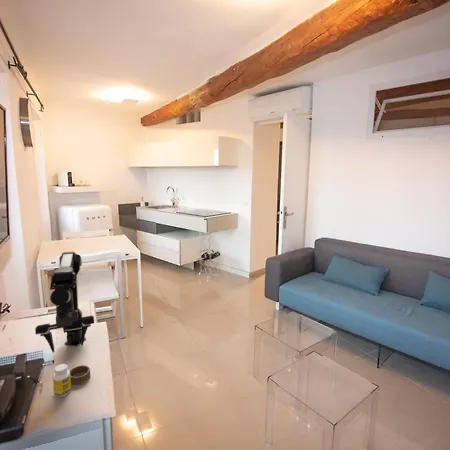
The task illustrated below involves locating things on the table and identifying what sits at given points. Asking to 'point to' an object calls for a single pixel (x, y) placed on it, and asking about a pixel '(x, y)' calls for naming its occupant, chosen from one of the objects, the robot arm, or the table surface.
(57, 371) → the supplement bottle
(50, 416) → the table surface
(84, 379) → the holder
